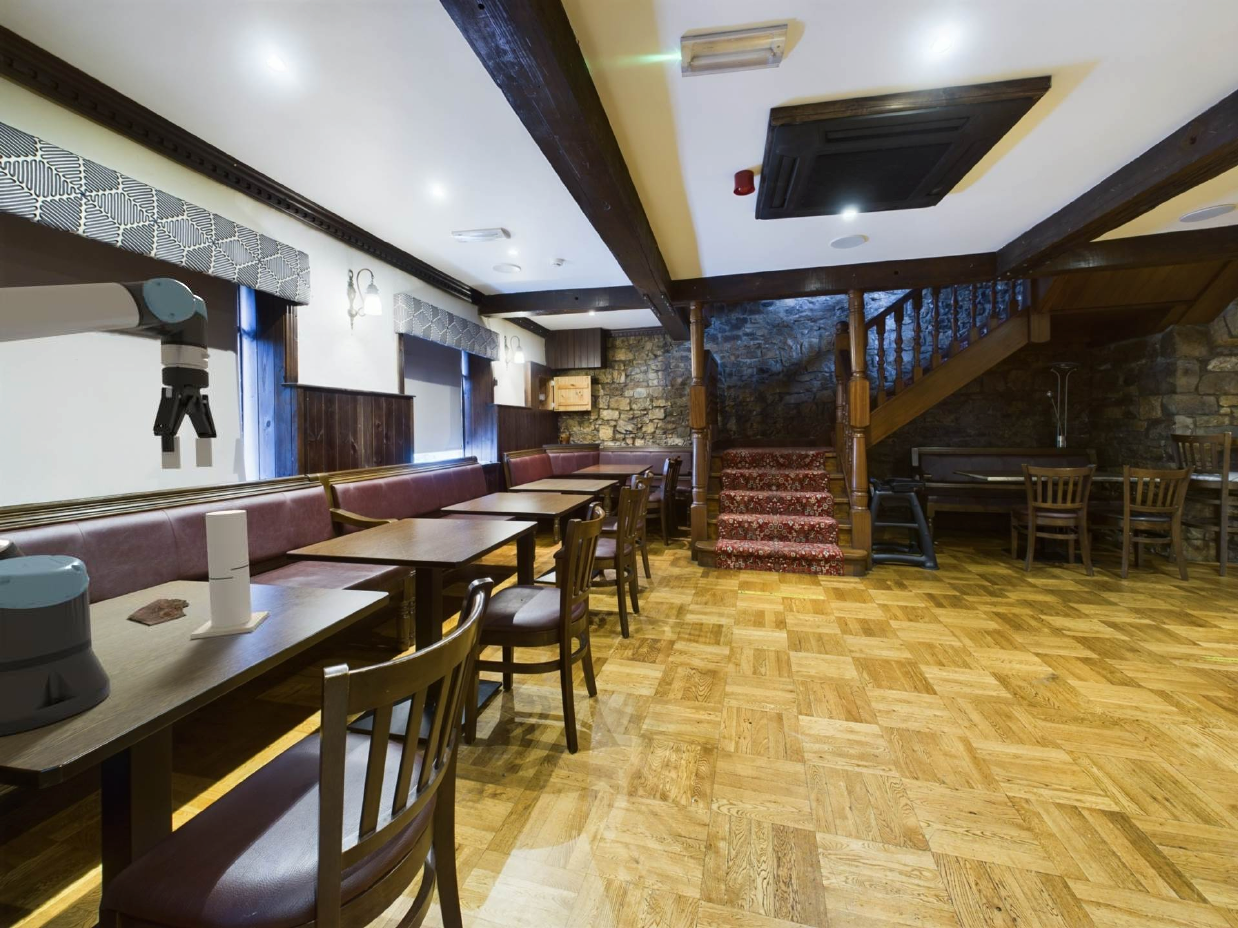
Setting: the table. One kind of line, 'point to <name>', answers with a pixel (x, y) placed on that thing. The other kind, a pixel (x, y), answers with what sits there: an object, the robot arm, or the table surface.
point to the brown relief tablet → (160, 611)
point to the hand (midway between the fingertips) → (188, 467)
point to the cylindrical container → (228, 568)
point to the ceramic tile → (242, 628)
